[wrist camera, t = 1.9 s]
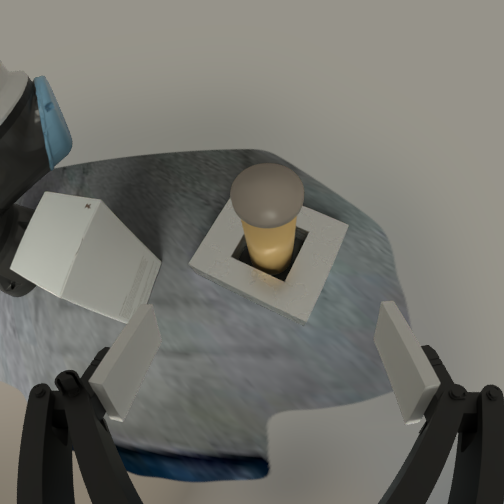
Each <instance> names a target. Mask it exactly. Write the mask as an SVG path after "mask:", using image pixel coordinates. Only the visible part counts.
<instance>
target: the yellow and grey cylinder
mask: <svg viewBox="0 0 504 504" xmlns="http://www.w3.org/2000/svg"><path fill="white" fill-rule="evenodd" d="M230 197H231V202H232V205H233V208H234V211H235V212H236V214H237V215H238V217H239V218H240V219H241V222H242V226H243V230H244V234H245V238H246V243H247V247H248V251H249V255H250V259H251V262H252V265H253V266H254V267H255V269H258V270H260V271H262V272H264V273H266V274H268V275H275V274H279V273H281V272H283V271H284V270H286V269H287V268H288V267H289V265H290V263H291V261H292V256H293V247H294V238H295V229H296V220H297V215H298V214H299V212H300V210H301V208H302V205H303V200H304V187H303V184H302V181H301V180H300V178H299V177H298V175H297V174H296V173H295V172H293V171H292V170H291V169H289V168H287V167H285V166H283V165H279V164H275V163H262V164H257V165H253V166H251V167H249V168H247V169H245V170H244V171H242V172H241V173H240V174H239V175H238V176H237V177H236V178H235V180H234V182H233V184H232V186H231V191H230Z"/></svg>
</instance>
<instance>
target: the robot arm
mask: <svg viewBox="0 0 504 504" xmlns="http://www.w3.org/2000/svg"><path fill="white" fill-rule="evenodd" d="M71 148H72V138H71V135H70V132H69V130H68V127H67V124H66V122H65V119H64V117H63V114H62V112H61V110H60V107H59V105H58V103H57V101H56V98H55V96H54V93H53V91H52V89H51V87H50V85H49V83H48V81H47V80H46V77H45V76H40V77H36V78H34V80H33V82H32V81H31V80H30V78H29V77H28V76H27V74H26V73H25V72H24V71H14V72H9V71H7V69H6V68H5V67H4V65H3V64H2V62H1V61H0V290H1V291H3V292H4V293H6V294H9V295H11V296H13V297H21V296H24V295H26V294H27V293H29V292H30V291H31V290H32V289H33V288H34V287H35V286H36V284H34V283H32V282H31V281H29V280H27V279H26V278H24V277H22V276H21V275H19V274H17V273H16V272H14V271H13V270H11V269H10V267H11V264H12V262H13V259H14V257H15V254H16V252H17V249H18V247H19V245H20V242H21V240H22V238H23V236H24V233H25V231H26V229H27V227H28V225H29V222H30V220H31V218H32V216H33V214H34V212H35V210H33V209H30V208H26V207H23V206H20V205H16V204H14V203H15V202H16V201H17V200H18V199H19V198H20V197H21V196H22V195H23V194H24V193H25V192H26V191H28V190H29V189H30V188H31V187H32V186H33V185H34V184H35V183H36V182H38V181H39V180H40V179H41V178H42V177H43V176H45V175H46V174H47V173H48V172H49V171H52V170H53V169H54V166H55V165H56V164H58V163H59V162H60V161H61V160H62V159H63V158H64V157H66V156H67V155H68V154H69V152H70V151H71ZM161 342H162V339H161V335H160V332H159V328H158V324H157V321H156V317H155V313H154V309H153V305H152V304H141V305H140V306H139V307H138V309H137V310H136V312H135V313H134V315H133V316H132V317H131V319H130V320H129V322H128V323H127V324H126V326H125V327H124V329H123V330H122V332H121V333H120V335H119V336H118V337H117V339H116V340H115V342H114V343H113V345H112V346H111V348H109V347H105V348H103V349H102V350H101V351H99V352H98V354H97V355H96V356H95V358H94V360H93V361H92V362H91V364H90V365H89V367H88V368H87V370H86V371H85V372H84V374H83V375H82V377H81V378H79V376H78V374H77V372H75V371H74V370H66V371H63V372H61V373H60V374H59V375H58V376H57V377H56V379H55V385H56V386H57V388H58V390H59V391H52V390H51V389H50V387H49V386H48V385H47V384H43V383H41V384H38V385H36V386H34V387H33V388H32V389H31V391H30V394H29V399H28V404H27V409H26V414H25V419H24V425H23V432H22V439H21V446H20V455H19V466H18V481H17V504H75V499H74V487H73V471H72V470H73V469H72V444H73V447H74V451H75V455H76V458H77V461H78V464H79V468H80V471H81V474H82V477H83V480H84V483H85V485H86V488H87V491H88V494H89V496H90V499H91V502H92V504H143V502H142V501H141V499H140V497H139V495H138V493H137V492H136V489H135V488H134V486H133V484H132V482H131V480H130V478H129V476H128V473H127V471H126V469H125V467H124V465H123V463H122V460H121V458H120V456H119V454H118V451H117V449H116V447H115V444H114V442H113V439H112V437H111V434H110V432H109V429H108V426H107V424H106V421H105V419H104V418H103V417H104V415H105V413H107V414H108V416H109V417H110V419H113V420H117V421H121V422H124V419H125V417H126V415H127V413H128V411H129V409H130V406H131V404H132V402H133V400H134V398H135V396H136V394H137V392H138V389H139V387H140V385H141V383H142V381H143V379H144V377H145V375H146V373H147V371H148V369H149V367H150V365H151V362H152V360H153V358H154V356H155V354H156V352H157V350H158V348H159V346H160V344H161ZM374 342H375V345H376V347H377V349H378V352H379V354H380V357H381V359H382V362H383V364H384V367H385V370H386V372H387V375H388V377H389V380H390V383H391V385H392V388H393V391H394V394H395V396H396V399H397V402H398V405H399V407H400V410H401V413H402V416H403V419H404V422H405V425H408V424H413V423H417V422H419V421H420V420H421V419H422V417H423V415H424V416H425V418H426V422H425V424H424V425H423V427H422V428H421V430H420V432H419V433H420V434H419V436H418V438H417V440H416V442H415V444H414V446H413V448H412V450H411V452H410V453H409V455H408V457H407V459H406V460H405V462H404V464H403V466H402V467H401V469H400V471H399V472H398V474H397V476H396V477H395V479H394V480H393V482H392V484H391V485H390V487H389V488H388V490H387V491H386V493H385V494H384V496H383V497H382V499H381V500H380V502H379V503H378V504H425V503H426V502H427V500H428V498H429V496H430V494H431V492H432V490H433V488H434V486H435V484H436V482H437V480H438V478H439V476H440V474H441V471H442V469H443V467H444V465H445V462H446V460H447V458H448V455H449V453H450V450H451V448H452V445H453V443H454V440H455V437H456V434H457V433H459V434H458V444H457V453H456V461H455V468H454V474H453V480H452V485H451V491H450V495H449V500H448V504H503V502H504V397H503V393H502V391H501V390H500V388H498V387H497V386H495V385H487V386H485V387H484V388H483V389H482V391H481V392H467V391H466V389H465V388H464V387H462V386H460V385H458V384H454V382H453V381H452V379H451V377H450V375H449V373H448V372H447V370H446V368H445V366H444V365H443V364H442V361H441V360H440V359H439V356H438V354H437V353H436V351H435V350H434V349H433V348H431V347H430V346H429V345H425V346H420V344H419V342H418V341H417V339H416V337H415V336H414V334H413V332H412V330H411V329H410V327H409V325H408V324H407V322H406V320H405V319H404V317H403V315H402V314H401V312H400V311H399V309H398V307H397V306H396V304H395V303H394V301H383V302H381V306H380V312H379V317H378V321H377V326H376V331H375V335H374Z"/></svg>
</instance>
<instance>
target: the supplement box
mask: <svg viewBox="0 0 504 504" xmlns="http://www.w3.org/2000/svg"><path fill="white" fill-rule="evenodd" d="M160 265H161V261H160V260H159V259H158V258H157V257H156V256H155V255H154V254H153V253H152V252H151V251H150V250H149V249H148V248H147V247H146V246H145V245H144V244H143V243H142V242H141V241H140V240H139V239H138V238H137V237H136V236H135V235H134V234H133V233H132V232H131V231H130V230H129V229H128V228H127V227H126V226H125V225H124V224H123V223H122V222H121V221H120V219H119V218H118V217H117V216H116V215H115V214H114V213H113V212H112V211H111V210H110V209H109V208H108V207H107V206H106V204H105V203H104V202H103V201H102V200H100V199H93V198H86V197H79V196H72V195H65V194H60V193H54V192H47V191H45V193H44V195H43V197H42V199H41V200H40V202H39V204H38V206H37V208H36V210H35V212H34V214H33V216H32V218H31V220H30V222H29V225H28V227H27V229H26V231H25V233H24V236H23V238H22V240H21V242H20V245H19V247H18V249H17V252H16V254H15V257H14V259H13V262H12V264H11V267H10V269H11V270H13V271H14V272H16V273H17V274H19V275H21V276H22V277H24V278H26V279H27V280H29V281H31V282H32V283H34V284H36V285H37V286H39V287H41V288H43V289H45V290H46V291H48V292H50V293H52V294H54V295H56V296H58V297H60V298H63V299H65V300H67V301H70V302H72V303H74V304H77V305H79V306H82V307H84V308H86V309H89V310H91V311H94V312H97V313H99V314H102V315H104V316H107V317H110V318H112V319H115V320H118V321H121V322H124V323H126V324H127V323H128V322H129V320H130V319H131V317H132V316H133V315H134V313H135V312H136V310H137V309H138V307H139V306H140V305H141V304H147V302H148V299H149V296H150V293H151V290H152V288H153V285H154V282H155V279H156V276H157V274H158V271H159V268H160Z"/></svg>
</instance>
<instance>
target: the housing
mask: <svg viewBox="0 0 504 504" xmlns="http://www.w3.org/2000/svg"><path fill="white" fill-rule="evenodd" d="M348 226H349V225H347V224H345V223H343V222H341V221H338V220H336V219H334V218H331V217H329V216H327V215H324V214H322V213H319V212H317V211H315V210H312V209H310V208H307V207H305V206H302V208H301V210H300V212H299V214H298V215H297V220H296V229H295V238H296V239H299V240H301V241H303V242H304V244H303V246H302V248H301V250H300V252H299V254H298V256H297V258H296V260H295V262H294V264H293V266H292V268H291V270H290V272H289V274H288V276H287V278H286V280H285V282H284V281H281V280H279V279H277V278H275V277H273V276H271V275H268V274H266V273H264V272H262V271H260V270H258V269H255V268H253V267H251V266H249V265H247V264H245V263H243V262H240V261H238V259H239V258H240V256H241V254H242V252H243V251H244V249H245V247H246V245H247V243H246V238H245V234H244V230H243V226H242V222H241V219H240V218H239V217H238V215H237V214H236V212H235V211H234V208H233V205H232V202H231V197H230V199H229V200H228V202H227V203H226V205H225V207H224V208H223V210H222V211H221V213H220V214H219V216H218V217H217V219H216V221H215V222H214V224H213V225H212V227H211V229H210V230H209V232H208V233H207V235H206V237H205V238H204V240H203V241H202V243H201V245H200V246H199V248H198V249H197V251H196V253H195V254H194V256H193V258H192V259H191V261H190V263H189V265H190V267H191V268H192V269H193V270H194V272H195V273H196V274H198V275H200V276H202V277H204V278H206V279H208V280H210V281H212V282H214V283H216V284H218V285H220V286H222V287H224V288H226V289H228V290H230V291H232V292H234V293H236V294H238V295H240V296H242V297H244V298H246V299H248V300H250V301H252V302H254V303H256V304H258V305H260V306H262V307H264V308H266V309H268V310H270V311H272V312H275V313H277V314H279V315H281V316H283V317H285V318H287V319H289V320H291V321H294V322H296V323H298V324H300V325H302V326H304V325H305V324H306V322H307V320H308V318H309V316H310V314H311V312H312V309H313V307H314V305H315V303H316V301H317V299H318V296H319V294H320V292H321V290H322V288H323V285H324V283H325V281H326V279H327V276H328V274H329V272H330V269H331V267H332V265H333V262H334V260H335V258H336V255H337V253H338V251H339V248H340V246H341V243H342V241H343V238H344V236H345V233H346V231H347V228H348Z"/></svg>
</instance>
